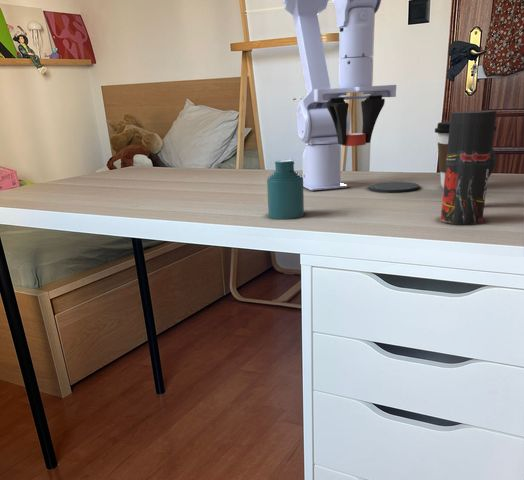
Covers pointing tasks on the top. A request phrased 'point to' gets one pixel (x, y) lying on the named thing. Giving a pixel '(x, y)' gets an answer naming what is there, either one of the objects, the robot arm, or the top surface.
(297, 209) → the bottle
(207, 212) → the top surface
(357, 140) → the cap
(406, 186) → the coaster
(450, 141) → the deodorant
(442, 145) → the coffee cup
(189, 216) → the top surface
